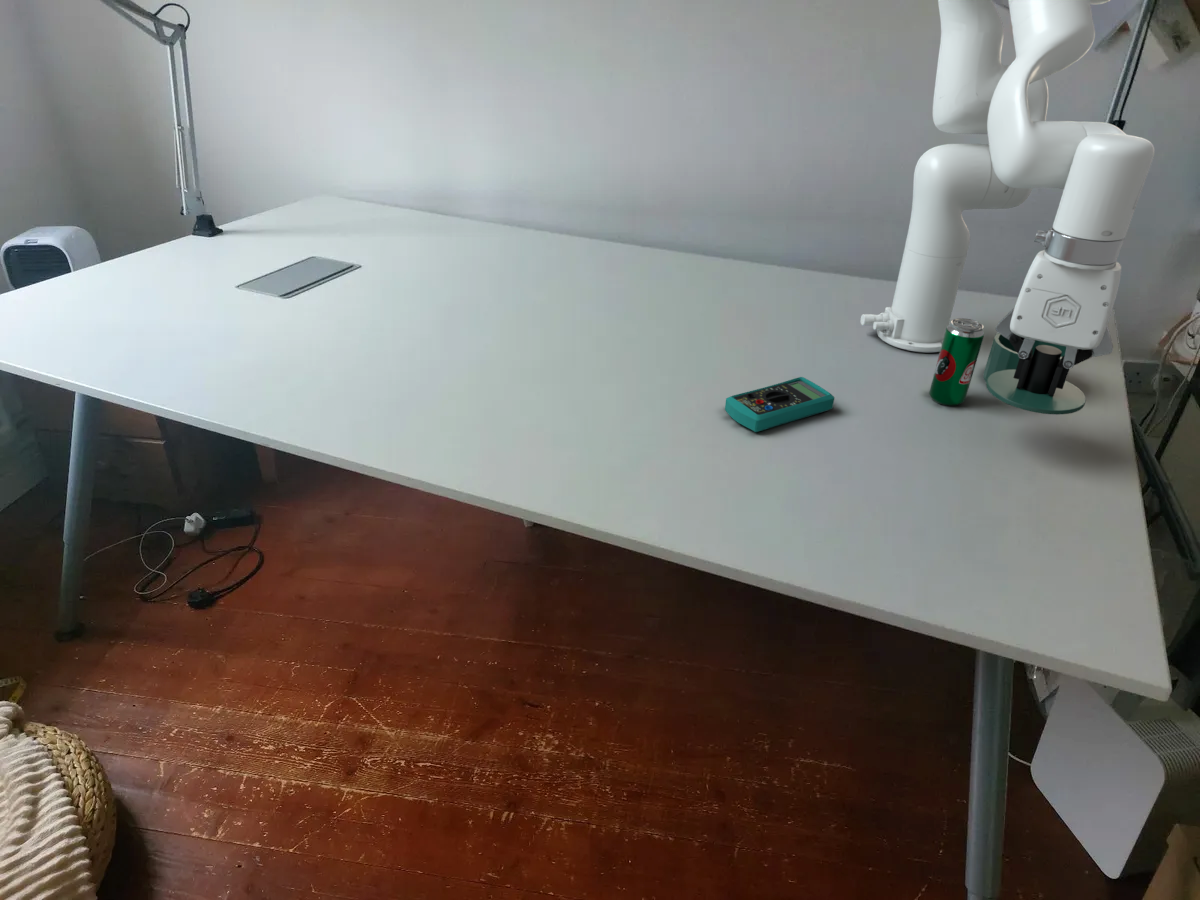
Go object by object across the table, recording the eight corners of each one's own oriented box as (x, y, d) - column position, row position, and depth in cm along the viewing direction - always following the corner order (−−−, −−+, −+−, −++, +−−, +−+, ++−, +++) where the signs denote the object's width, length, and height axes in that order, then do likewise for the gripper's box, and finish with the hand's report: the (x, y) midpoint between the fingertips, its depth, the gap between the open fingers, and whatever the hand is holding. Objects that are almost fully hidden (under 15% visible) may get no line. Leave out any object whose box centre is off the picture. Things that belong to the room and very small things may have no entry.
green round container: (1023, 404, 118) (1036, 364, 115) (967, 373, 126) (978, 335, 123) (1075, 391, 122) (1090, 352, 118) (1018, 362, 130) (1030, 325, 127)
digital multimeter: (719, 413, 115) (721, 394, 113) (800, 390, 121) (803, 372, 119) (751, 436, 109) (754, 417, 108) (834, 411, 115) (838, 393, 114)
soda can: (960, 410, 116) (982, 334, 110) (924, 401, 118) (944, 325, 112) (967, 397, 120) (989, 322, 113) (932, 388, 122) (952, 314, 116)
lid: (1037, 426, 98) (1054, 376, 94) (965, 385, 107) (978, 339, 103) (1103, 409, 102) (1122, 360, 98) (1029, 371, 111) (1044, 326, 107)
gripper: (1002, 243, 95) (963, 383, 104) (1163, 269, 88) (1105, 417, 97) (1012, 228, 100) (974, 362, 110) (1164, 251, 93) (1109, 393, 103)
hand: (1036, 386), depth 103 cm, fingers closed on lid, 3 cm apart
